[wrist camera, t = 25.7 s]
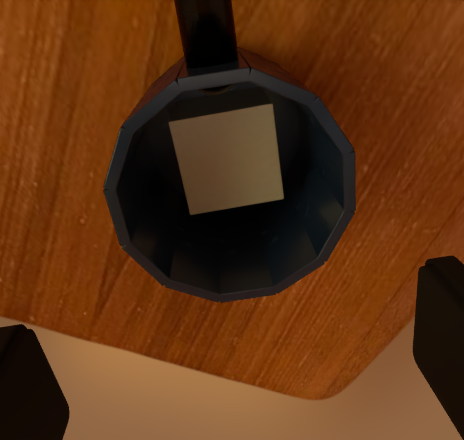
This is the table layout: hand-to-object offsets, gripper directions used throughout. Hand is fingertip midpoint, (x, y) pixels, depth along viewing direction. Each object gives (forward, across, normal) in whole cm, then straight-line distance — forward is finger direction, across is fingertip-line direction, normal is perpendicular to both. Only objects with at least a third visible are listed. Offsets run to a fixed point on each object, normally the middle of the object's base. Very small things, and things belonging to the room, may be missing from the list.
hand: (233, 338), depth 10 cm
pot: (+13, -1, +5) cm, 14 cm away
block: (+17, -1, 0) cm, 17 cm away
